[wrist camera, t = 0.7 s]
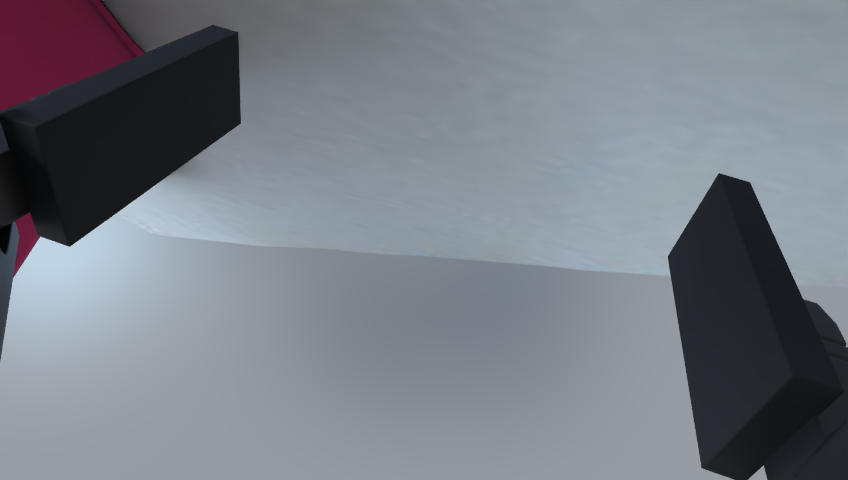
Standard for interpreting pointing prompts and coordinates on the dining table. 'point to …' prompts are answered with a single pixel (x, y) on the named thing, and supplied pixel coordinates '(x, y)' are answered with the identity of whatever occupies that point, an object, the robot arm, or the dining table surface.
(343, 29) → the dining table surface
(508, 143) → the dining table surface
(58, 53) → the storage bin
